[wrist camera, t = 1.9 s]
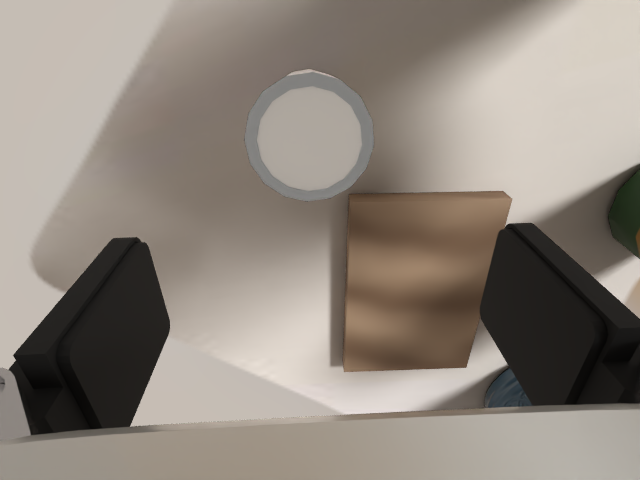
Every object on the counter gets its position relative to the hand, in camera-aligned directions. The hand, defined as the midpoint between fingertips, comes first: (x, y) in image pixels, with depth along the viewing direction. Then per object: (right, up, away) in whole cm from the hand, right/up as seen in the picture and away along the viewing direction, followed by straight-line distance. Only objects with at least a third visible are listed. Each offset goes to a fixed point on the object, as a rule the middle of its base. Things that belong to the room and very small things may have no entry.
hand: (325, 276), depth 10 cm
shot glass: (-1, +10, +16) cm, 19 cm away
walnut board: (+8, -3, +24) cm, 25 cm away
